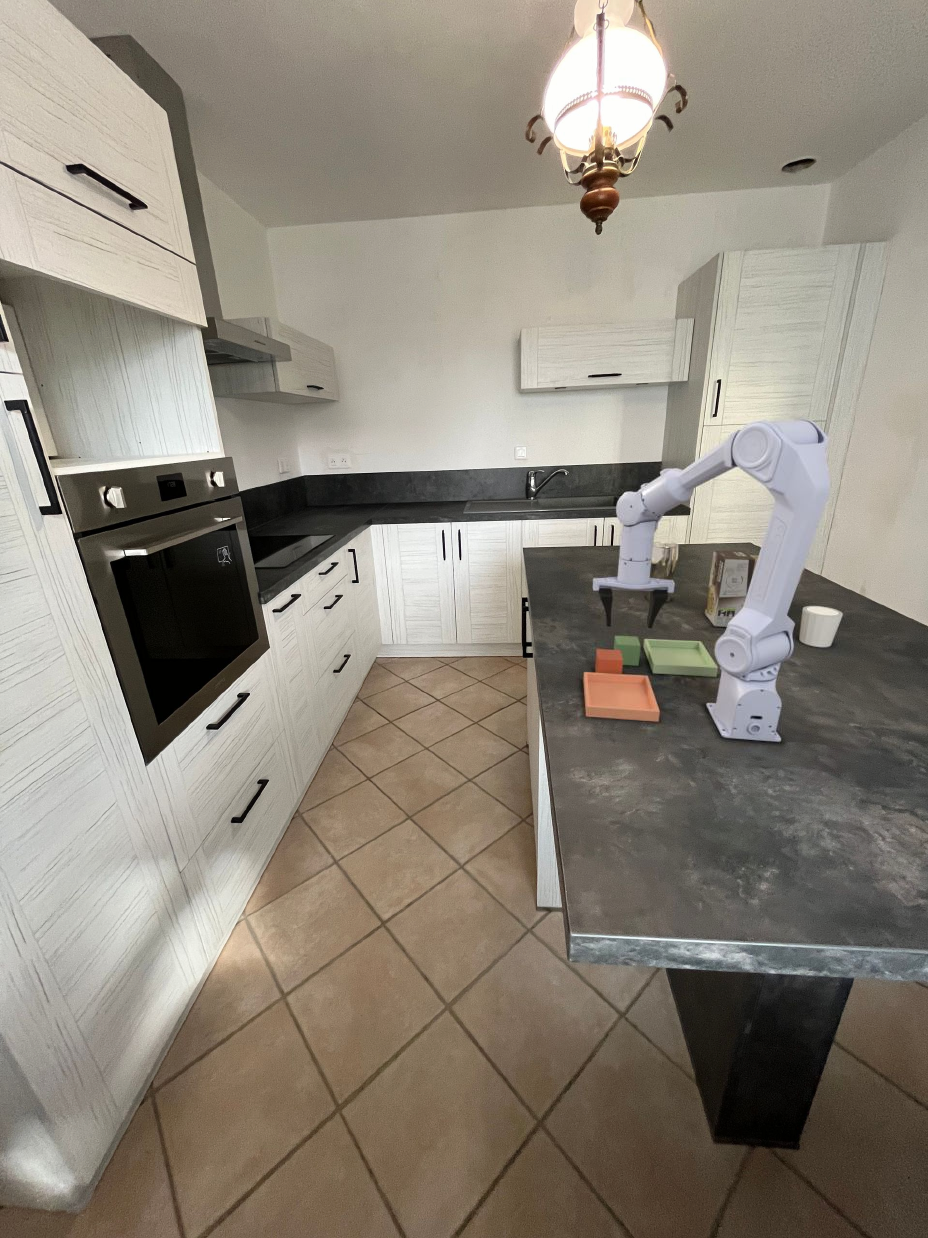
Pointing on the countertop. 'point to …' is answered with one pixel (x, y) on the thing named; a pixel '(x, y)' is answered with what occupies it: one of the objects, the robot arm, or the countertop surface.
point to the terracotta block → (609, 661)
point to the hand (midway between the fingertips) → (628, 625)
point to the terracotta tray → (620, 697)
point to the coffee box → (728, 585)
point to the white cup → (819, 625)
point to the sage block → (628, 649)
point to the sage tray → (679, 657)
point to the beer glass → (663, 562)
